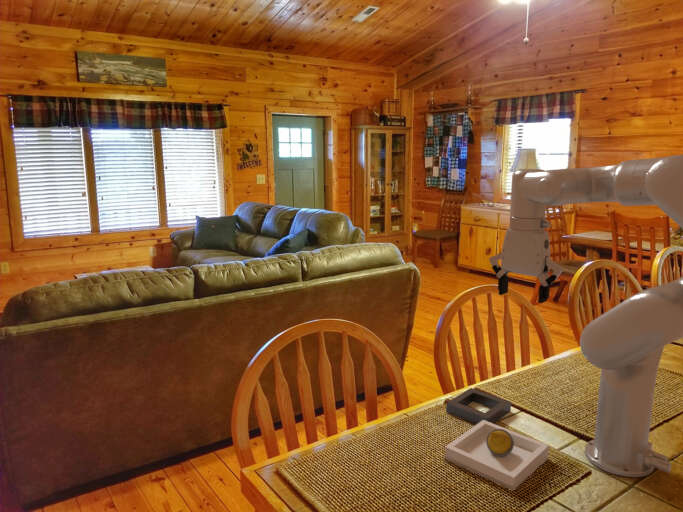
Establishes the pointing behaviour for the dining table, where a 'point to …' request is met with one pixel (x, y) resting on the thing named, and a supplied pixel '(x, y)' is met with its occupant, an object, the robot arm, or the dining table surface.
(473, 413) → the socket collar
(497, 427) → the tray
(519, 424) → the dining table surface
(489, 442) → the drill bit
